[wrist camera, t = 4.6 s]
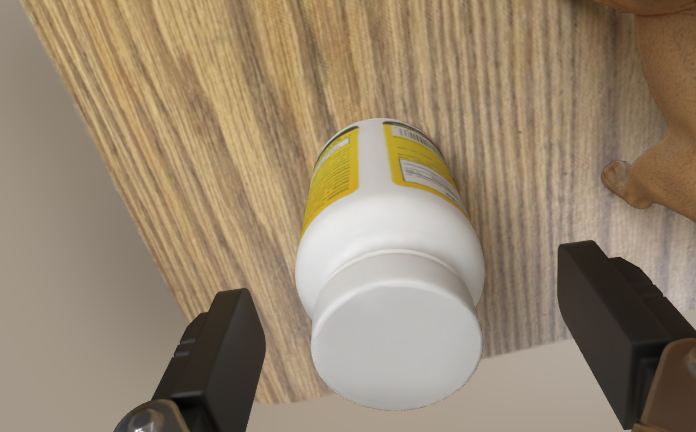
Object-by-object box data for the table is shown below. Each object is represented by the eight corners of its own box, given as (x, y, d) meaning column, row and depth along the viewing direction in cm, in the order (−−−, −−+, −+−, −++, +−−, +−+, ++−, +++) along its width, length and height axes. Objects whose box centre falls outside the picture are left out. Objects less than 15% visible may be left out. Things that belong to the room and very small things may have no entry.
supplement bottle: (322, 242, 21) (297, 437, 12) (303, 122, 19) (254, 261, 10) (447, 231, 21) (511, 425, 12) (445, 107, 18) (522, 239, 10)
